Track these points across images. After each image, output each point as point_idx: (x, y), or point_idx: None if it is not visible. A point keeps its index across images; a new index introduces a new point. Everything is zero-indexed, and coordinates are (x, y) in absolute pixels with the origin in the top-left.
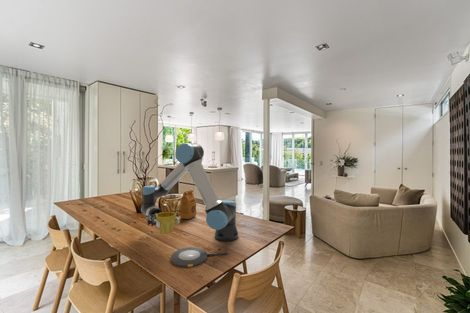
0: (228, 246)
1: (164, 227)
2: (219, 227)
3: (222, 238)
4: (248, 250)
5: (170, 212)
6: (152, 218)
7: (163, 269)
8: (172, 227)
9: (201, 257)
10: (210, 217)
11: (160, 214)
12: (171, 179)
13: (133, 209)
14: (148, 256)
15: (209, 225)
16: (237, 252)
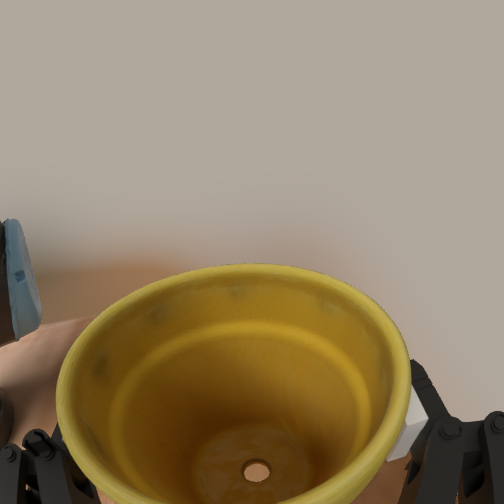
0: (44, 376)
1: (291, 383)
2: (38, 295)
3: (7, 407)
4: (48, 331)
5: (77, 421)
6: (452, 498)
7: None
8: (202, 405)
9: None
10: (25, 263)
11: (292, 501)
12: None
13: None
14: (387, 487)
15: (39, 312)
16: (70, 338)
